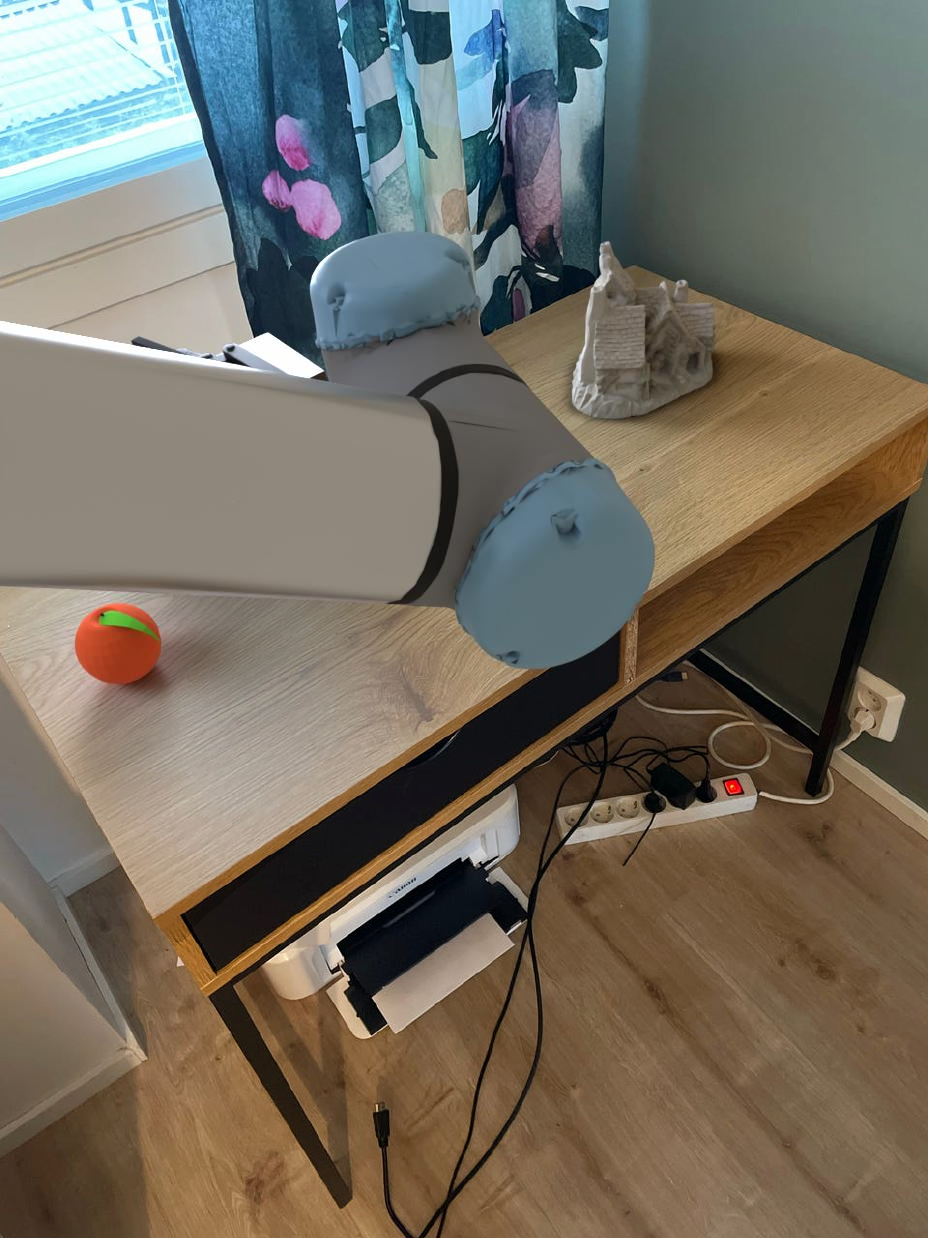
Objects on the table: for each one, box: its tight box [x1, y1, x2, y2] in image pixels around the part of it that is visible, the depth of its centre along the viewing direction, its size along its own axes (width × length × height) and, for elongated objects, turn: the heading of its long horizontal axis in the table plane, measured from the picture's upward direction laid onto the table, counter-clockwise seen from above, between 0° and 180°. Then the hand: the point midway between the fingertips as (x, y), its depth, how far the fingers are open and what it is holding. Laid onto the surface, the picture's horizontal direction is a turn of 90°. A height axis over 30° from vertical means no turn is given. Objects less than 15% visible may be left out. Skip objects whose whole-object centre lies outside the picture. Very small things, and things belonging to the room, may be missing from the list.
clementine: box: [74, 602, 163, 685], centre depth 76 cm, size 8×7×7 cm
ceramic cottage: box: [571, 241, 717, 420], centre depth 98 cm, size 16×16×15 cm
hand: (95, 381), depth 66 cm, fingers closed on die, 8 cm apart
